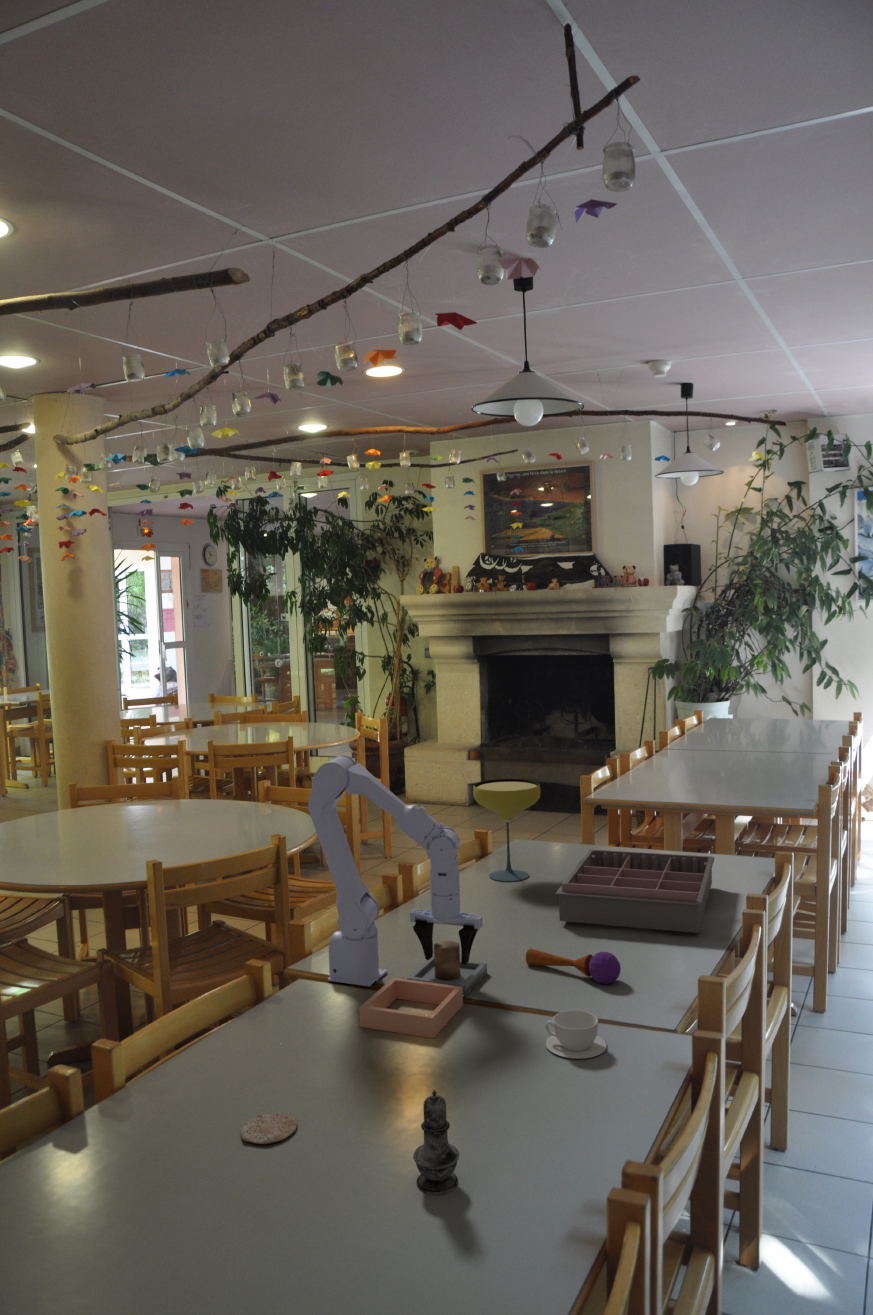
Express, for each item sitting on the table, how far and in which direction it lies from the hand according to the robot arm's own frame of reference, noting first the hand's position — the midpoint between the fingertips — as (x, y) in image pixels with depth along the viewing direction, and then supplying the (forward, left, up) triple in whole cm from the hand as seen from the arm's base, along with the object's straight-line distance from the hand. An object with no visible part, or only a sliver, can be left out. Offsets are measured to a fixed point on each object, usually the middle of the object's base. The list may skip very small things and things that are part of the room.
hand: (447, 960), depth 185 cm
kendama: (+22, +11, -4) cm, 25 cm away
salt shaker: (+23, -61, -4) cm, 65 cm away
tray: (0, 0, -4) cm, 4 cm away
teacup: (+30, -19, -4) cm, 36 cm away
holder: (0, -17, -4) cm, 17 cm away
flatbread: (-4, -58, -4) cm, 58 cm away
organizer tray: (+27, +57, -4) cm, 63 cm away
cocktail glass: (-11, +72, -4) cm, 73 cm away
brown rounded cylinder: (0, 0, -3) cm, 3 cm away
